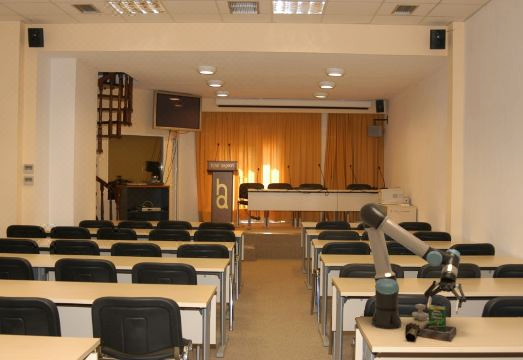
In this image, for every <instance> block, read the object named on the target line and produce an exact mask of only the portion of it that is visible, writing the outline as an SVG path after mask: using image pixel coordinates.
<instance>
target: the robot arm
mask: <svg viewBox="0 0 523 360" xmlns="http://www.w3.org/2000/svg"><path fill="white" fill-rule="evenodd" d="M358 215H359V219H360V220H361V222H362V226H363V230H365V231H366V232H367V235H368V236H367V237H368V242H369V244H370V250H371V256H372V259H373V264H374V268H375V269H374V270H375V273H376V274H375V275H374V283H375V285H374V288H375V290H374V291H375V297H374V298H375V300H374V301H375V302H374V303H375V309H374V312H373V316H372V318H371V325H372V326H374V327H376V328H379V329H387V330H390V329H391V330H395V329H400V328H402V320H401V316H400V314H399V291H400V286H399V282H398V280H397V276H396V273H395V272H394V271H393V270H392V265H391V261H390V256H389V251H388V248H387V242H386V238H385V235H387V236H388V237H390V238H391V239H393V240H394V241H396V242H397V243H399V244H400V245H402V246H403V247H404V248H405V249H407V250H409V251H411V252H412V253H413V254H415V255H417V256H418V257H419V258H420V259H422V260H423V261H425V262H427V264H428V265H430V266H431V267H438V266H440V265H441V266H442V270H441V275H440V280H439V281H436V280H433V281H432V284H431V285H430V286H429V287H428V289H426V291H424V292H423V295H424V298H426V300H425V301H426V308H427V311H429V305H432V298H433V297H434V296H436V295H437V294H439V293H441V292H447V293H450V292H451V293H452V294H453V295H454V297H455V298H456V306H455V310H454V311H455V314H456V315H458V314H459V310H460V309H461V308H462V305H463V303H467V298H466V295H465V293H464V291H463V287H462V284H461V283H460V282H459V283H458V284H456V283H457V277H458V272H459V266H460V262H461V253H460V251H458V250H457V249H455V248H452V249H451V248H449V249H447V250H446V251H443V250H441V249H437V248H434V247H432V246H430V245H428V244H427V243H426V242H424V241H423V240H421V239H420V238H418V237H417V236H415V235H413V234H412V233H411V232H409V231H408V230H406V229H405V228H404V227H402V226H400V225H399V224H398V223H396V222H395V221H393V220H392V219H390V218H389V217H388V216H389V215H387V214H386V213H385V212H383V209H382V207H381V206H380V205H379V204H377V203H374V202H368V203H366V204H364V205H363V206H362V207H361V208H360V210H359V213H358ZM436 287H437V288H436ZM455 288H457V289H458V290H459V293H460V295H459V294H458V292H457V291H456V290H455Z"/></svg>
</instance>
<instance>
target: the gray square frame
mask: <svg viewBox="0 0 523 360" xmlns="http://www.w3.org/2000/svg"><path fill="white" fill-rule="evenodd" d="M419 328H420V329H419V334H418V335H419V337H420V338H426V339H432V340H436V341H437V340H438V341H444V342H449V343H450V342H452V341H453V339H454V338H455V337H456V336H457V326H452V325H451V326H450V325H446V332H440V331H433V330H429V322H425V324H423V325H422V326H420V327H419Z"/></svg>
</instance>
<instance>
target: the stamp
mask: <svg viewBox="0 0 523 360" xmlns="http://www.w3.org/2000/svg"><path fill="white" fill-rule="evenodd" d="M414 306H415V309H416V310H417V311H413V312H412V313H411V315H412V317H413V318H415V320H416V319H418V320H417V321H419V320H422V321H426V320H427V319H429V312H427V313H426V312H424V310H426V308H427V304H423V303H418V304H415V305H414ZM425 319H426V320H425Z"/></svg>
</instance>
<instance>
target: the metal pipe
mask: <svg viewBox="0 0 523 360" xmlns="http://www.w3.org/2000/svg"><path fill="white" fill-rule="evenodd" d="M420 328H421V327H420V325H419V324H417V323H414V322H410V323H407V324H406V325H405V329H404V333H405V335H404V337H405V340H406V341H407V342H409V343H414V342H415V341H416V339H417V336H418V335H419V329H420Z"/></svg>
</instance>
